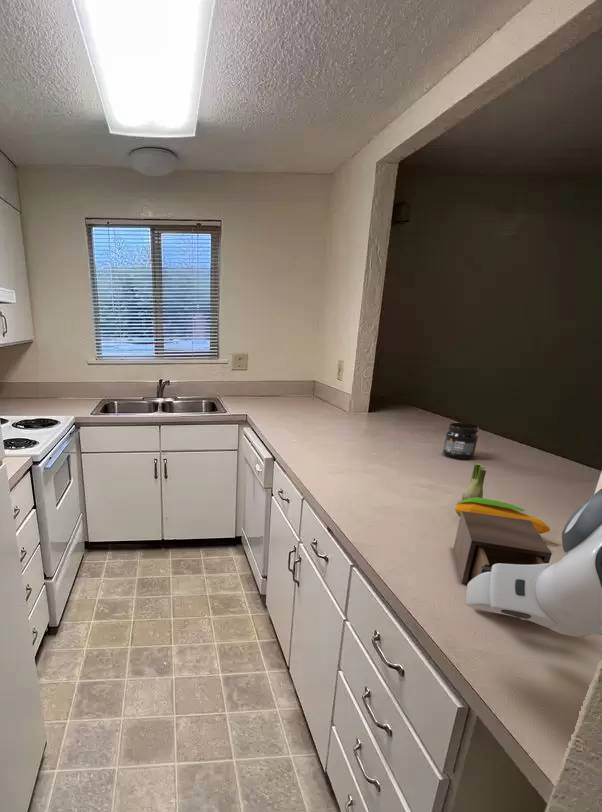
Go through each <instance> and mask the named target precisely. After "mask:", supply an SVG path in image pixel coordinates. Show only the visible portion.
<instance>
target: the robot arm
mask: <svg viewBox="0 0 602 812" xmlns="http://www.w3.org/2000/svg"><path fill="white" fill-rule="evenodd" d="M561 544H562V545H561V546H562V550H563V553H566V554H565V555H564V556H562V557H561V558H560V559H559V561H556V562H554V563H552V562H551V563H550V562H549V563H547V564H536V565H524V564H502V563H498V564H494V565H493V566H492V569H491V572H485V573H482V574H479V575H478V576H476V577H475V578H473V579H472V580H471V581H470V582H469V583H468V584H466V585H467V586H466V593H465V599H466V600H465V603H466V605H467V606H468V607H469V608H472V609H476V610H480V611H484V612H485V611H486V612H490V613H495V614H500V615H505V616H510V617H514V618H519V619H520V620H522V621H528V622H532V623H535V624H537V625H539V626H542V627H544V628H545V627H546V628H548V629H550V630H551V631H553V632H556V633H557V634H561V635H564V636H569V637H586V636H589V635H595V634H596V635H601V636H602V488H600V489H599V490H597V491H596V492H595V493H594V494H593V495H591V496H590V497H589V498H587V500H585V501H584V502H583V503H582V504H581V505H580V506H579V507H578V508H577V509H576V510H575V511H574V512H573V513H572V514H571V515H570V517H569V518H568V520H567V522H566V523H565V525H564V527H563V529H562V532H561Z"/></svg>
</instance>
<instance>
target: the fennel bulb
mask: <svg viewBox="0 0 602 812" xmlns="http://www.w3.org/2000/svg"><path fill="white" fill-rule="evenodd" d="M486 473H487V469H486V467H485V466H483V465H481V464H480V463H478V462H477V463H474V465H473V470H472V473H471V478H470V481H469V482H468V485H467V487H466V489H465V490H464V491H463V493H462V496H461V501H462V500H464V499H468V498H475V497H479V498H483V497H484V481H485V477H486V475H487V474H486Z"/></svg>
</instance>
